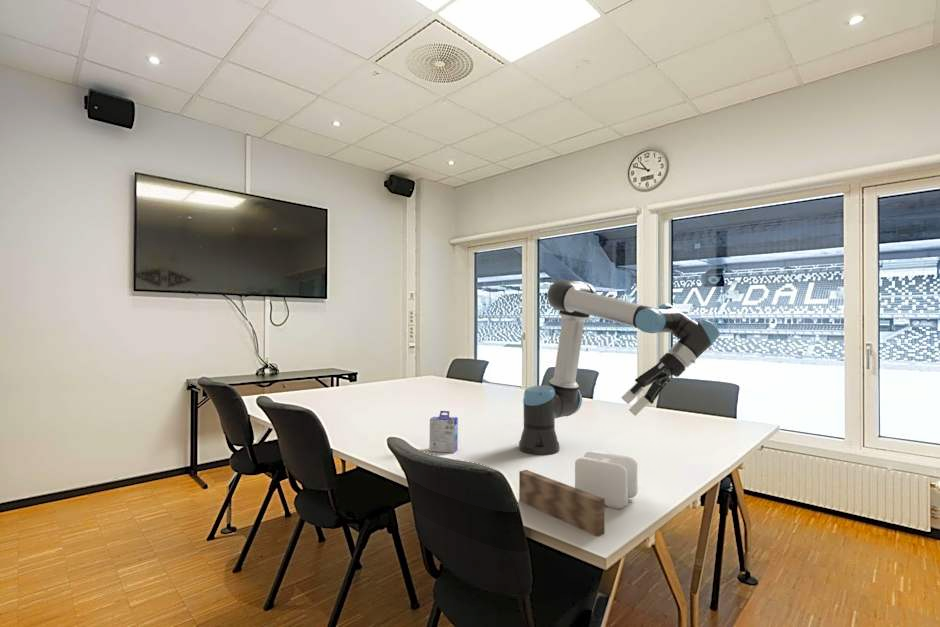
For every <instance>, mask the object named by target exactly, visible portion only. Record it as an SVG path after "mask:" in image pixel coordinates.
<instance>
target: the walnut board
mask: <svg viewBox="0 0 940 627" xmlns="http://www.w3.org/2000/svg"><path fill="white" fill-rule="evenodd" d="M518 473H519V476H518V477H519V479H518V480H519V486H518V487H519V490H518V491H519V494H518V495H519V497H518V498H519V499H518V500H519V502H521V503H523V504H525V505H527V506H529V507H532V508H534V509H537V510H539V511H541V512H542V513H545V514H547V515H550V516H551V515H552V517H554V518H556V519H558V520H560V521H563V522H565V523H566V524H569V525H571V526H574V527H575V528H577V529H581V530H583V531H585V532H587V533H589V534H592V535H594V536H596V537H599V536H601V535H604V534H605V531H606V530H605V529H606V528H605V524H606V522H605V516H606V515H605V508H606V507H605V506H606V505H605V499H604V498H601V497H599V496H596V495H593V494H590V493H588V492H585V491H582V490H580V489H577V488H575V486H574V487H573V486H571V485H568V484H566V483H563V482H560V481H557V480H556V479H552V478H550V477H547V476H544V475H543V474H542V475H541V474H538V473H536V472H533V471H531V470H528V469H523V470H520V471H519V472H518Z"/></svg>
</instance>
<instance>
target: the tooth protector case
mask: <svg viewBox="0 0 940 627" xmlns="http://www.w3.org/2000/svg"><path fill="white" fill-rule="evenodd" d="M574 488H577V489H580V490H582V491H585V492H588V493H590V494H593V495H596V496H599V497H601V498H604V499H605V506H606V507H607V506H609V507H608V508H611V507H612V509H615V508H617V509H616V510H619V509H621V508H624V507H626V505H628V501H629V499H633V498H635V497H636V496H637V494H638V462H637V460H636V459H634V458H633V457H630V456H624V455H619V454H614V453H609V452H603V451H602V452H601V451H598V450H589V451H587V452H585V454H584V455H583V456H581V457H579V458H576V460H575V462H574Z"/></svg>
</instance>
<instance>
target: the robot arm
mask: <svg viewBox="0 0 940 627" xmlns="http://www.w3.org/2000/svg"><path fill="white" fill-rule="evenodd" d="M546 295H547V301H548V304H550V306H551V307H552V308H553V309H554V310H557V311H559V314H558V315H560V317H561V325H560V331H559V339H558V345H557V352H556V359H555V360H556V361H555V365H554V374H553V377H552V378H550V379H549V380H548V381H549V382H548V385H546V384H545V385H544V384H540V385H533V386H530V387H527V388H526V389H524V393H523V430H522V432H521V436H520V440H519V442H518V448H519V450H520V451H521V452H524V453H527V454H532V455H552V454H555V453H558V452H559V451H560V443H559V441H558V436H557V433H556V430H555V428H556V427H555V425H556V424H555V423H556V422H555V420H556V419H558V418H564V417H571V415H574V414H576V413H578V411H580V409H581V406H582V404H583V397H582V394H581V391H580V390H579V387H580V386H579V384H578V382H577V381H576V380H577V373H578V368H579V361H580V360H579V359H580V353H581V348H582V347H581V346H582V340H583V333H584V326H585V322H586V321H587V320H588V319H590V316H592V317H596V318H599V319H604V320H607V321H610V322H614V323H618V324H621V325H625V326H629V327H632V328H635V329H638V330H640V331H641V332H643V333H647V334H656V333H657V334H659V333H669V334H671V335H672V336H674V337H675V338H676V339H678V341H677V342H676V343H675V344H674V345H672V347H671V348H669V349H668V352H666V353H664V355H663V356H661V358H660V359H659V362H658V363H657V364H655V365H654V366H652V367H651V368H650V369H648V370H647V371H645V372H643V373H642V374H641V375H639V376H637V378H635V380H634V382H635V384H634V385H632V387H630V388H629V389H628V390H627V391H626V392H625V393H624V394H623V395H622V396H621V397H620V398H621V399H622V400H623V402H625V403H626V404H627V405H629V404H630V403H631V402H632V401H634V400H635V398H636V397H637V396H638V395H640V393H641V392H643V391H644V389H645V388H646V387H647V386H649V385H650V386H649V388H648V389H647V391H646V393H645V394H644V396H643V395H642V396H641V397H640V398H639V399H638V400H636V402H635V403H634V404H633V405H632V406H631V407H630V408H629V409H628V411H629V412H630V413H631V414H632V415H633V416H635V417H636V416H637V415H638V414H639V413H640V412H641V411H642V410H643V409H644V408H645V407H646V406H647V405H648V404H649V403H650V404H651V405H652V404H654V401H655V400H656V399H657V397H659V395H660V394H661V392H662V391H663V390H664V389H665V388H666V386H667V385H668V384H669V383H670V382H671V379H670V377H671V376H674V377H679V376H680V377H681V375H682V374H683V373H684V372H685V371H686V368H689V367H690V366H691V365H692V364H696V360H698V358H699V357H700V356H701V355H702V354H703V353H704V352H706V350H708V348H710V347H711V346H712V345H713V344H714V342H715V341H716V340H718V339H719V336H720V330H719V328H718V327H717V326H716V325H715V324H714V323H713V322H712V321H709V320H707V319H704V318H702V319H701V318H700V320H698V321H696V320H694V319H692V318H691V317H689V316H688V315H687V314H685V313H683V311H681V310H679V309H678V308H677V307H675V305H674V306H673V304H670V303H669V302H665V303H662V304H660V305H659V306H658V307H656V308H655V307H652V306H648V305H643V304H638V303H635V302H630V301H626V300H622V299H617V298H613V297H610V296H605V295H602V294H598V293H597V290H596V289H595V287H594V286H593V285H592V284H590V283H589V282H584V281H581V280H570V279H569V280H567V279H561V280H557V281H555V282H553V283H552V284H551V285H550V286H549V288H548V290H547V294H546Z"/></svg>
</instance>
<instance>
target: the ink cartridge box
mask: <svg viewBox="0 0 940 627" xmlns="http://www.w3.org/2000/svg"><path fill="white" fill-rule="evenodd" d="M444 413H445V414H444ZM458 425H459V419H458V417H455V416H450V410H440V413H439V416H432V417H431V418H429V449H428V450H429V452H439V453H451V454H452V453H455V452H456V451H458V450H459V448H458V447H459V446H458V445H459V444H458V441H459V440H458V439H459V438H458V437H459V435H458V434H459V432H458V431H459V427H458Z"/></svg>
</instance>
